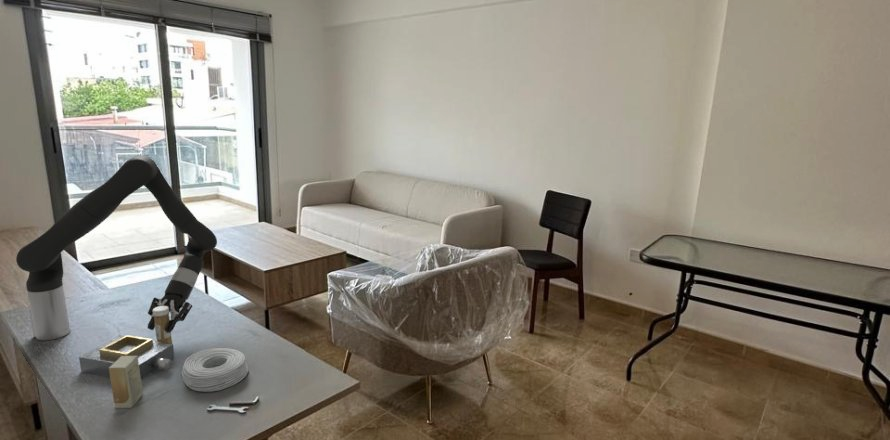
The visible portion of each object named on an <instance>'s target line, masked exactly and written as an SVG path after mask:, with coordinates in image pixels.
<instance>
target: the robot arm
mask: <svg viewBox="0 0 890 440" xmlns="http://www.w3.org/2000/svg"><path fill="white" fill-rule="evenodd" d="M161 171H162V170H160V168H159V166H158V164H157V163H156V161H154V159H152V157H149V156H146V155H136V156H133V157H131V158H129V159H128V160H126V161H124V163H123V164H122V165H121V166H120V167H119V169H118V170H117V171H116V172H115V173H114V174H113V175H112V176H111V177H110V178H108V180H107V181H106V182H104V183H103V184H102V185H100V186H98V187H96V188H95V189H94V190H92V191H90V192H89V193H88V194H86V195H85V196H83V197H82V198H80V200H79V201H77V202H76V203H75V204H73V205H72V207H70V208H68V210H67V211H66V212H65V213H63V215H62V216H61V217H60V218H58V220H57V221H56V222H55V223H53V225H51V227H50V228H49V229H48V230H46V231H45V232H44V233H42V234H41V235H40V236H38V237H37V238H35V239H34V240H33V241H31V242H29V243H28V244H25V245H23V247H21V248H20V249H19V251H18V252H17V254H16V257H15V258H16V259H15V260H16V265H17V266H18V267H19V269H20V270H22V271H25V272H28V277H27V280H26V283H25V285H26V287H25V288H26V291H27V297H28V302H29V308H30V309H29V311H28V314H29V319H30V323H31V328H32V335H33V337H35V338H36V340H37V341H50V340H55V339H56V340H57V339H59V338H62V337H64V336H67V335H68V334H69V333H70V332H71V327H70V321H69V315H68V314H69V313H68V308H67V302H66V295H65V289H64V283H63V278H64V266H63V258H62V257H63V256H62V252H64V250H66V248H68V247H69V246H70V245H72V244H74V243H75V242H76V241H78V240H80V239H81V238H82V237H85V236H86V235H87V234H89V233H90V232H92V231H93V230H95V228H97V227H98V226H99V225H101V224H102V223H103V222H104V221H106V220H107V219H108V218H109V216H111V215H112V214H113V213H114V212H115V210H116V209H118V208H119V206H120V205H121V204H122V202H124V200H125V199H126V198H128V197H129V196H130V195H132V194H133V193H134V192H136V191H138V190H139V189H141V188H142V187H144V188H146V189H147V190H148V191H149V192H150V193H151V194H152V196H153V197H154V199H156V201H157V202H158V204H159V207H160V208H161V210H162V211H163V213H164V215H165V216H166V218H168V220H169V221H170V222H171V224H173V226H174V227H175V229H177V230H178V231H179V233H180V234H185V235H188V236H189V237H190V238H189V240H188V241H187V244H186V246H185V251H184V252H183V253H184V254H183V258H182V259H181V261H180V262H179V265H178V267H177V269H176V270H175V272H174V273H173V275H172V277H171V278H170V281H169V283H168V285H167V286H166V288H165V291H164V295H163V297H162V298H157V297H154V298H153V299H152V301H151V304H150V307H149V309H148V311H147V314H148V315H149V316H150V320H149V321H148V323H147V329H149V330H151V331H155V321H154V315H153V309H154V308H156V307H159V306H168V307H169V314H170V319H169V322H168V324H167V326H166V328H165V331H166V332H168V333H170V332H171V333H172V331H174V328H175V326H176V324H177V323H178V322H184V320H185V319H186V317H187V316H188V314H189V312H191V309H192V308H193V304H191V303H190V302H188V301H187V300H188V299H189V298H190V295H191V294H192V291H193V290H194V287H195V285H196V283H197V281H198V277H199V275H200V274H201V271H202V269H203V267H204V264H205V262H204V259H203V258H204V255H205V253H207V252H209V251H212V250H213V249H215V248H216V247H217V244H218V239H217V237H216V234H215V233H214V232H213V231H212V230H211V229H210V228H208V226H206V225H205V224H204V223H203V222H201V221H199V220H198V219H197V217H196V216H195V214H193V213H192V211H191V210H190V209H189V208H188V207H187V206H186V204H185V203H184V202H183V201H182V199H181V198H180V197H179V196H178V195H177V193H176V192H175V191H174V189H173V188H172V187H171V186H170V184H169V183H168V181H167V180H166V178H165V176H164V175H163V173H162V172H161Z"/></svg>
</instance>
